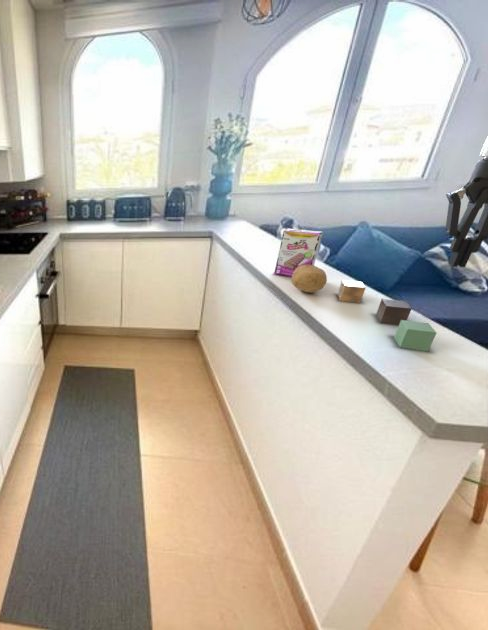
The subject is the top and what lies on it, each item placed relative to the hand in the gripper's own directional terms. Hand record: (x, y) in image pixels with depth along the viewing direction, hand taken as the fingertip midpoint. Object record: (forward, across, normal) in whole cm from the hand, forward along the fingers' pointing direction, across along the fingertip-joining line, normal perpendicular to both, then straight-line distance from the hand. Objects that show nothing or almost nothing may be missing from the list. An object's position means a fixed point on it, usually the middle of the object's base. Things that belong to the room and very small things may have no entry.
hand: (456, 265), depth 82 cm
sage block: (+16, -7, -13) cm, 22 cm away
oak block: (+16, -15, +13) cm, 26 cm away
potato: (+17, -26, +17) cm, 35 cm away
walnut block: (+16, -8, 0) cm, 18 cm away
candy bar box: (+17, -29, +31) cm, 46 cm away
